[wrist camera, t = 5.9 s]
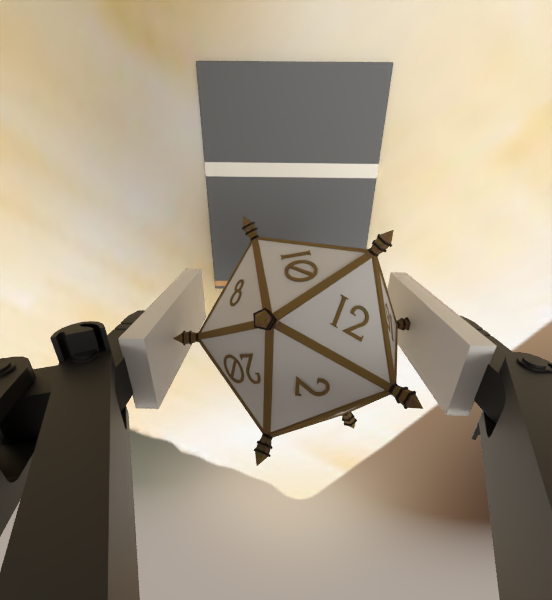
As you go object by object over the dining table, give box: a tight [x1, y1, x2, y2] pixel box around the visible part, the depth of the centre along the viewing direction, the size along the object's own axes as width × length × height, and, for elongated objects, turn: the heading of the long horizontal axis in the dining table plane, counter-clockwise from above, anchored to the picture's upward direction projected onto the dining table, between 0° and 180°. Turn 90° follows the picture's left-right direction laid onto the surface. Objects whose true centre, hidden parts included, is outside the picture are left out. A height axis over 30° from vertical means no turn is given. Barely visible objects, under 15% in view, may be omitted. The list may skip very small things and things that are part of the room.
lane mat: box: [196, 61, 393, 288], centre depth 27 cm, size 20×16×1 cm
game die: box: [173, 216, 423, 466], centre depth 11 cm, size 9×8×10 cm
